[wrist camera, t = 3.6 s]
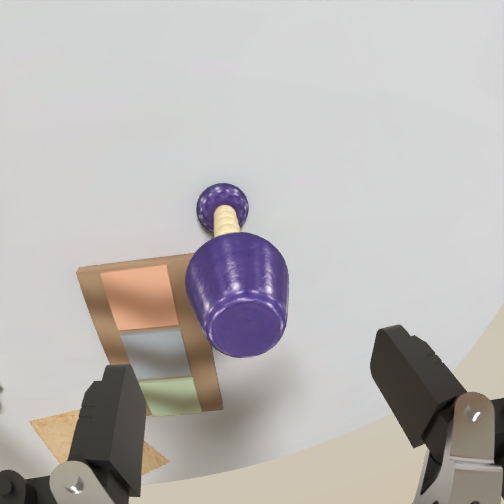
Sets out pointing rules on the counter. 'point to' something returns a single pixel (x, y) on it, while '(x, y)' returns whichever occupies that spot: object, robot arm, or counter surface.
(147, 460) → the model pyramid
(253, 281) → the toy lamp
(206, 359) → the tile board
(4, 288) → the counter surface
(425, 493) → the robot arm
